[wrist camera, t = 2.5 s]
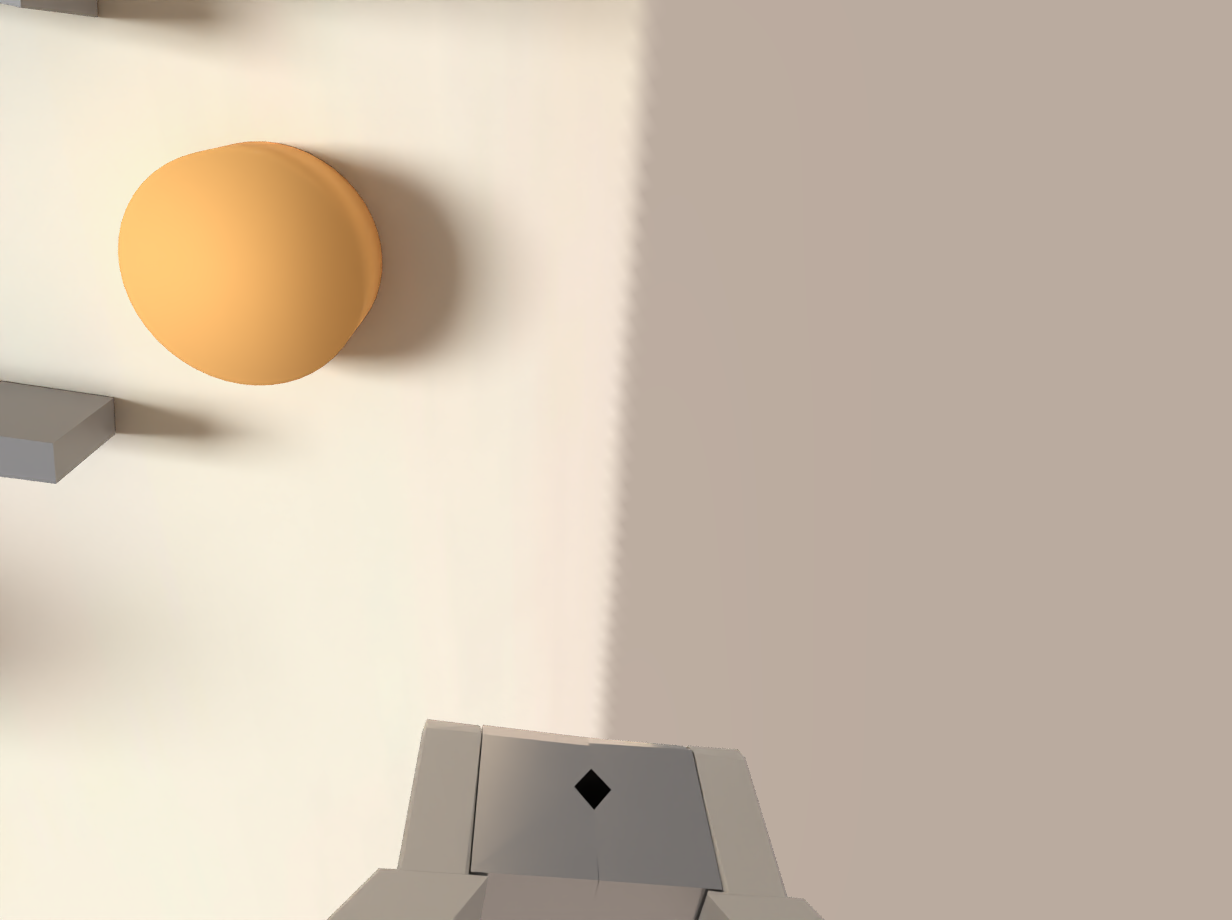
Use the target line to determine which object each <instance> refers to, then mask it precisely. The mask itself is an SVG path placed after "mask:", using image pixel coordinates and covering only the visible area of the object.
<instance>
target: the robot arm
mask: <svg viewBox="0 0 1232 920" xmlns="http://www.w3.org/2000/svg"><path fill="white" fill-rule="evenodd" d="M327 920H824V919H823V918H822V917H821V916H820V915H819V914H818V913H817V912H816V911H815V910H814V909H813V908H812V907H811V906H810V904H808V902H807V901H806V900H804V899H801V898H792V897H787V894H786V891H785V887H784V884H783V881H782V878H781V874H780V871H779V867H778V864H777V861H776V858H775V854H774V851H773V848H772V845H771V841H770V838H769V835H768V832H767V828H766V825H765V821H764V818H763V815H762V812H761V808H760V805H759V802H758V798H757V795H756V792H755V789H754V785H753V782H752V779H751V775H750V772H749V769H748V766H747V762H746V759H745V757H744V756H743V755H742V754H741V753H740V751H739V750H736V749H724V748H710V747H699V746H687V747H683V746H677V745H666V744H655V743H644V742H631V741H621V740H610V739H599V738H588V737H578V736H570V735H562V734H553V733H545V732H537V731H529V730H521V729H512V728H504V727H496V726H488V725H483V726H482V729H481V727H480V726H478V725H470V724H462V723H454V722H446V721H438V720H430V719H427V721H426V723H425V726H424V728H423V731H422V736H421V742H420V747H419V753H418V758H417V764H416V769H415V775H414V780H413V785H412V791H411V796H410V802H409V807H408V813H407V818H406V824H405V829H404V834H403V840H402V845H401V851H400V856H399V862H398V867H397V869H383V868H379V869H378V870H377V871H376V872H375V873H374V874H373V875H372V876H371V877H370V878H369V879H368V880H367V881H366V882H365V883H364V884H363V885H361V886H360V887H359V888H358V889H357V890H356V891H355V892H354V893H353V894H352V895H351V896H350V897H349V898H348V899H347V900H346V901H345V902H344V903H343V904H342V905H341V906H340V907H339V908H338V909H337V910H336V911H335V912H334V913H333V914H332V915H331V916H330V917H329V918H328V919H327Z"/></svg>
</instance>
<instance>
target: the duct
mask: <svg viewBox="0 0 1232 920" xmlns="http://www.w3.org/2000/svg"><path fill="white" fill-rule="evenodd" d="M0 3H2V4H7V5H12V6H16V7H21V8H29V9H37V10H45V11H53V12H61V13H68V14H76V15H84V16H92V17H98V8H97V0H0ZM114 434H115V416H114V398H113V397H106V396H99V395H93V394H86V393H79V392H72V391H65V390H58V389H51V388H45V387H38V386H31V385H24V384H17V383H10V382H4V381H0V476H1V477H8V478H16V479H24V480H31V481H39V482H47V483H54V484H56V483H57V482H59V481H60V480H61V479H62V478H63V477H65V476H66V475H67V474H68V473H69V472H71V471H72V470H73V469H74V468H75V467H76V466H78V465H79V464H80V463H81V462H82V461H84V460H85V459H86V458H87V457H88V456H90V455H91V454H92V453H93V452H94V451H95V450H97V449H98V448H99V447H100V446H101V445H103V444H104V443H105V442H106V441H107V440H109V439H110V438H111V437H112V436H113V435H114Z"/></svg>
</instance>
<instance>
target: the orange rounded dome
mask: <svg viewBox="0 0 1232 920" xmlns="http://www.w3.org/2000/svg"><path fill="white" fill-rule="evenodd" d="M118 256H119V266H120V271H121V276H122V280H123V284H124V287H125V289H126V292H127V294H128V297H129V300H130V301H131V303H132V305H133V307H134V309H135V311H136V313H137V315H138V316H139V317H140V319H141V320H142V322H143V323H144V325H145V326H146V328H147V329H148V330H149V331H150V332H151V333H152V335H153V336H154V337H155V338H156V339H157V340H158V341H159V342H160V343H161V344H162V345H163V346H164V347H165V348H166V349H167V350H168V351H170V352H171V353H172V354H174V355H175V356H176V357H178V358H179V359H180V360H182V361H183V362H185V363H187V364H188V365H190V366H192V367H193V368H195V369H197V370H199V371H201V372H203V373H206V374H208V375H210V376H213V377H216V378H219V379H222V380H225V381H229V382H234V383H239V384H247V385H274V384H280V383H286V382H290V381H293V380H297V379H300V378H302V377H304V376H307V375H309V374H311V373H313V372H315V371H316V370H318V369H320V368H321V367H323V366H324V365H325V364H327V363H328V362H329V361H330V360H331V359H333V358H334V357H335V356H336V355H337V354H338V352H339V351H340V350H341V349H342V348H343V347H344V345H345V344H346V343H347V341H348V340H349V339H350V337H351V336H352V335H353V333H354V332H355V330H356V329H357V328H358V326H359V325H360V324H361V322H362V321H363V320H364V318H365V317H366V315H367V314H368V312H369V311H370V309H371V307H372V305H373V303H374V301H375V299H376V296H377V293H378V290H379V286H380V282H381V275H382V251H381V243H380V239H379V235H378V231H377V228H376V226H375V223H374V221H373V218H372V216H371V214H370V212H369V210H368V208H367V206H366V204H365V203H364V201H363V200H362V199H361V197H360V196H359V194H358V193H357V191H356V190H355V189H354V188H353V187H352V186H351V185H350V183H349V182H348V181H347V180H346V179H345V178H344V177H343V176H342V175H340V174H339V173H338V172H337V171H336V170H335V169H333V168H332V167H331V166H329V165H328V164H326V163H325V162H324V161H322V160H320V159H319V158H317V157H315V156H313V155H311V154H309V153H307V152H305V151H302V150H300V149H297V148H295V147H291V146H287V145H283V144H280V143H272V142H243V143H236V144H231V145H227V146H222V147H218V148H214V149H209V150H205V151H200V152H196V153H192V154H189V155H186V156H182V157H180V158H177V159H175V160H173V161H171V162H169V163H167V164H165V165H164V166H162V167H161V168H159V169H158V170H156V171H155V172H154V173H152V174H151V175H150V176H149V177H148V178H147V179H146V180H145V181H144V182H143V183H142V184H141V186H140V187H139V188H138V190H137V191H136V192H135V193H134V195H133V197H132V199H131V200H130V202H129V204H128V206H127V208H126V211H125V214H124V216H123V219H122V222H121V228H120V233H119V243H118Z"/></svg>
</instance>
